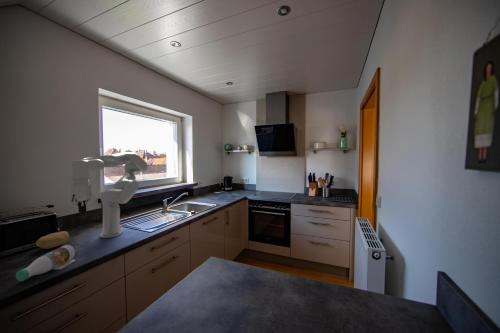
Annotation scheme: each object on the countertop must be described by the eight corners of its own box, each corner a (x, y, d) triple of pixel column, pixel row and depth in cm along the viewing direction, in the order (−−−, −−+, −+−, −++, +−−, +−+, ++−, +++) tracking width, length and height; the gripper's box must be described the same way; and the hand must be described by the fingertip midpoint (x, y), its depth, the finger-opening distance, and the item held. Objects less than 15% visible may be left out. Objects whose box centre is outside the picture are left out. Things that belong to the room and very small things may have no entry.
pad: (46, 260, 100) (46, 259, 100) (75, 260, 100) (75, 259, 100) (28, 268, 92) (28, 268, 92) (60, 269, 93) (60, 268, 92)
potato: (32, 250, 110) (32, 236, 110) (65, 241, 122) (64, 228, 122) (39, 254, 106) (39, 240, 105) (72, 244, 118) (72, 231, 118)
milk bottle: (69, 261, 102) (20, 288, 82) (59, 250, 102) (8, 275, 82) (78, 252, 100) (31, 277, 81) (67, 241, 100) (18, 264, 81)
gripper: (85, 179, 119) (86, 208, 121) (62, 183, 104) (64, 216, 106) (97, 179, 119) (98, 208, 121) (76, 183, 104) (78, 216, 106)
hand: (82, 212), depth 113 cm, fingers closed
